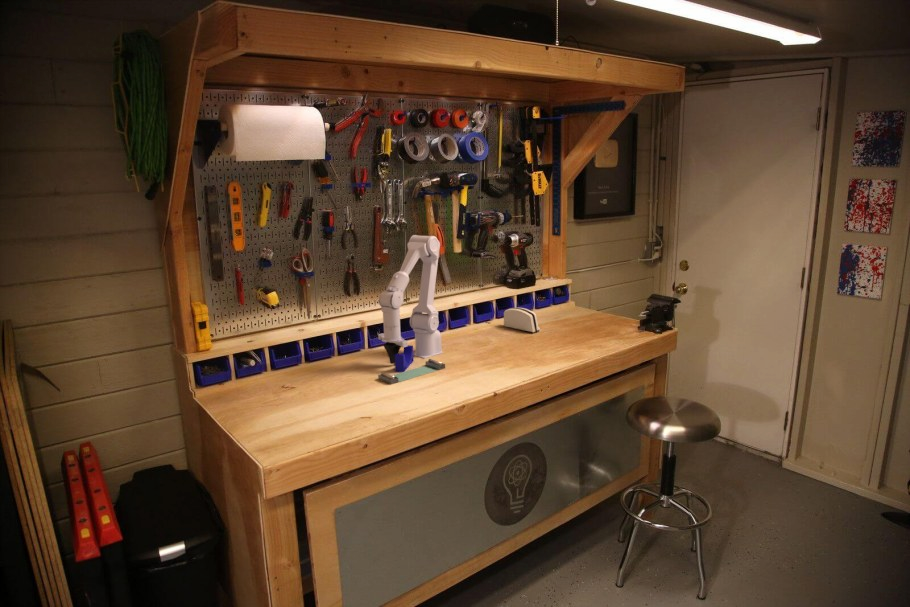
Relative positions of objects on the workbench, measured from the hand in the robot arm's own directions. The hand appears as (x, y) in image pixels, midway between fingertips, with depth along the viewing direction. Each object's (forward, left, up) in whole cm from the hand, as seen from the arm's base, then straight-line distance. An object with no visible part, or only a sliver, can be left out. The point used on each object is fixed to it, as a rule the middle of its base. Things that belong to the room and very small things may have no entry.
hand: (393, 362), depth 214 cm
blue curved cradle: (-2, +2, -2) cm, 3 cm away
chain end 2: (-10, +11, -1) cm, 15 cm away
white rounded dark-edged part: (-68, -1, -2) cm, 68 cm away
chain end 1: (+10, +11, -1) cm, 15 cm away
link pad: (0, +11, -1) cm, 11 cm away
